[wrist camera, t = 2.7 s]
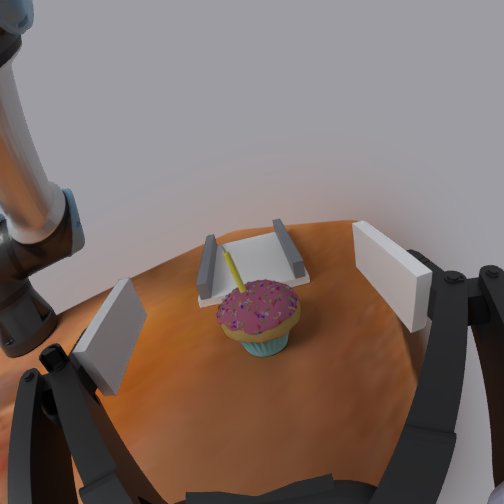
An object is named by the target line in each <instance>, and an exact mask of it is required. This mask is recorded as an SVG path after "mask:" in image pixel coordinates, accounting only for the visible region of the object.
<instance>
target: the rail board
mask: <svg viewBox="0 0 504 504" xmlns="http://www.w3.org/2000/svg"><path fill="white" fill-rule="evenodd" d="M273 224H274V229H275V232H272V233H268V234H263V235H259V236H255V237H251V238H246V239H242V240H238V241H234V242H230V243H225V244H221V245H222V246H223V247H224V249H225V250H226V252H227V251H229V252H230V255H231V257H232V259H233V261H234V263H235V266H236V268H237V270H238V272H239V274H240V277H241V279H242V281H243V283H244V284H246V283H247V282H253V281H256V280H264V279H267V280H271V281H274V280H275V281H276V282H279V283H283V284H287V285H288V286H289V287H295V286H299V285H303V284H307V283H310V278H309V274H308V272H307V270H306V268H305V267H304V262H303V259H302V257H301V255H300V254H299V252H298V250H297V248H296V246H295V245H294V243H293V241H292V239H291V237H290V236H289V234H288V232H287V230H286V228H285V227H284V225H283V223H282V221H281V220H280V219H276V220H273ZM221 245H217V243H216V239H215V236H214V234H213V235H209V236H207V237H206V241H205V246H204V250H203V255H202V259H201V263H200V268H199V273H198V277H197V282H196V287H197V290H198V293H199V297H198V303H199V305H200V308H202V307H207V306H212V305H216V304H221V303H222V299H225V298H226V297H225V296H226V295H228V294H229V293H231V292H232V290H233V289H235V288H237V287H238V286H237V284H236V282H235V280H234V277H233V275H232V273H231V271H230V269H229V267H228V264H227V262H226V260H225V258H224V256H223V253H224V251H223V249H222V247H221ZM223 301H224V300H223Z"/></svg>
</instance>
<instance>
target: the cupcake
mask: <svg viewBox="0 0 504 504" xmlns="http://www.w3.org/2000/svg"><path fill="white" fill-rule="evenodd" d="M221 247H222V249H223V251H224V253H223V256H224V258H225V260H226V262H227V264H228V267H229V269H230V271H231V273H232V275H233V277H234V280H235V282H236V284H237V286H238V287H237V288H235V289H233V290H232V292H231V293H229V294H228V295H226V296H225V297H226V298H225V299H222V303H221V304H220V305H219V307H218V314H217V313H216V315H217V321H218V323H219V324H221V326H222V329H223V330H224V332H225V334H226V335H227V336H228V337H230V338H232V339H234V340H236V341H238V342H240V343H241V344H242V345H243V346H244V347H245V349H246V350H247V351H248V352H249V353H250V354H252V355H255V356H259V357H266V356H271V355H274V354H276V353H278V352H280V351H281V350H282V349H283V348H284V347H285V346H286V344H287V341H288V336H289V331H290V330H291V329H292V328H293V327H294V326H295V325H296V324H297V323H298V322H299V319H300V316H301V306H300V302H299V300H298V297H297V294H296V293H295V291H294V290H293V289H292V288H291V287H289V286H288V285H287V284H283V283H279V282H276V281H275V280H274V281H271V280H267V279H264V280H256V281H253V282H247V283H246V284H244V283H243V281H242V279H241V277H240V274H239V272H238V270H237V268H236V266H235V263H234V261H233V259H232V257H231V255H230V252H229V251H227V252H226V250H225V249H224V247H223V246H222V245H221ZM223 300H224V301H223Z"/></svg>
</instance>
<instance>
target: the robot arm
mask: <svg viewBox="0 0 504 504" xmlns="http://www.w3.org/2000/svg"><path fill="white" fill-rule="evenodd" d="M33 17H34V13H33V4H32V0H0V207H1V209H2V210H3V211H4V212H5V214H6V215H7V219H5V217H4V216H3V215H2V214H0V347H1V348H2V350H3V351H4V353H5V354H6V355H7V356H8V357H18V356H21V355H23V354H25V353H27V352H29V351H31V350H32V349H34V348H35V347H37V346H38V345H39V344H40V343H42V342H43V341H44V340H45V339H46V338H47V337H48V336H49V334H50V333H51V332H52V331H53V329H54V328H55V326H56V323H57V316H56V314H55V312H54V310H53V309H52V307H51V306H50V305H49V304H48V303H47V302H46V301H45V300H44V299H43V298H42V297H41V296H40V295H39V294H38V293H37V292H36V291H35V290H34V288H33V287H32V285H31V283H30V281H29V279H28V277H29V276H31V275H32V274H34V273H36V272H38V271H40V270H42V269H44V268H46V267H48V266H50V265H52V264H54V263H56V262H58V261H60V260H61V259H64V258H66V257H70V256H72V255H73V254H74V253H75V252H77V251H79V250H81V249H82V248H83V247H84V244H85V238H84V233H83V229H82V225H81V223H80V218H79V214H78V210H77V207H76V203H75V200H74V196H73V194H72V191H71V190H70V189H62V190H61V189H60V187H59V186H58V185H57V184H55V183H53V182H50V181H48V180H47V177H46V175H45V172H44V170H43V167H42V165H41V163H40V160H39V157H38V155H37V152H36V150H35V147H34V144H33V142H32V138H31V135H30V133H29V130H28V127H27V124H26V120H25V117H24V114H23V111H22V107H21V103H20V100H19V96H18V92H17V88H16V85H15V80H14V75H13V71H12V66H11V64H12V62H13V60H14V59H15V57H16V56H17V54H18V52H19V51H20V49H21V47H22V41H21V34H24V33H25V32H26V30H28V29H29V28H30V27H31V26H32V24H33ZM352 227H353V236H354V247H355V259H356V267H357V268H358V269H359V270H360V272H361V273H362V274H363V275H364V276H365V277H366V278H367V280H368V281H369V282H370V283H371V284H372V285H373V287H374V288H375V289H376V290H377V291H378V293H379V294H380V295H381V296H382V297H383V299H384V300H385V301H386V302H387V303H388V305H389V306H390V307H391V308H392V309H393V311H394V312H395V313H396V314H397V316H398V317H399V318H400V319H401V321H402V322H403V323H404V324H405V326H406V327H407V328H408V329H409V330H410V332H411V333H412V332H415V331H417V330H420V329H422V328H425V327H426V321H427V316H428V317H429V318H430V319H431V320H432V326H431V331H430V336H429V341H428V346H427V350H426V354H425V359H424V363H423V367H422V371H421V375H420V379H419V382H418V385H417V389H416V392H415V396H414V399H413V402H412V405H411V408H410V411H409V414H408V417H407V420H406V423H405V425H404V428H403V431H402V433H401V436H400V438H399V441H398V443H397V446H396V448H395V451H394V453H393V455H392V458H391V460H390V462H389V464H388V466H387V469H386V471H385V473H384V475H383V477H382V479H381V481H380V483H379V485H378V487H375V486H373V485H370V484H367V483H363V482H359V481H352V480H333V477H332V474H328V475H324V476H320V477H316V478H312V479H307V480H303V481H298V482H294V483H292V484H289V485H287V486H284V487H282V488H279V489H277V490H274V491H271V492H269V493H266V494H263V495H260V496H247V495H239V494H231V493H225V492H186V500H183V501H180V502H177V503H175V504H436V502H437V499H438V496H439V494H440V491H441V489H442V485H443V483H444V480H445V477H446V474H447V471H448V468H449V465H450V462H451V458H452V455H453V451H454V447H455V443H456V433H454V429H455V424H456V420H457V415H458V409H459V404H460V399H461V392H462V386H463V378H464V370H465V360H466V348H467V347H466V346H467V330H468V328H467V327H468V326H470V325H471V329H472V332H473V336H474V339H475V343H476V347H477V351H478V355H479V360H480V364H481V369H482V374H483V378H484V384H485V389H486V396H487V402H488V410H489V418H490V428H491V442H492V465H493V478H494V484H495V489H494V490H493V492H492V493H491V495H490V497H489V500H488V503H487V504H504V271H503V270H502V269H501V268H499V267H497V266H494V265H488V266H484V267H482V268H481V269H480V273H479V277H478V278H471V279H466V277H465V276H464V275H463V274H462V273H460V272H457V271H445V272H444V271H443V270H442V269H441V268H439V267H438V266H437V265H435V264H434V263H432V262H430V260H429V259H427V258H425V257H424V256H423V255H422V254H421V253H419V252H417V251H414V250H411V249H410V250H406V251H405V250H404V249H403V248H401V247H400V246H399V245H398V244H396V243H395V242H393V241H392V240H391V239H389V238H388V237H386V236H385V235H384V234H382V233H381V232H380V231H378V230H377V229H376V228H374V227H373V226H371V225H370V224H368V223H367V222H366V221H360V222H356V223H352ZM146 317H147V314H146V312H145V310H144V308H143V306H142V303H141V301H140V299H139V297H138V295H137V293H136V290H135V288H134V286H133V284H132V281H131V279H130V278H125V279H121V280H119V281H118V282H117V284H116V285H115V287H114V288H113V290H112V291H111V293H110V294H109V295H108V297H107V298H106V300H105V301H104V303H103V304H102V306H101V307H100V309H99V310H98V312H97V313H96V315H95V317H94V318H93V320H92V321H91V323H90V324H89V326H88V327H87V328H86V329H85V330H84V331H83V332H82V334H81V336H80V337H79V338H80V339H78V340H77V342H76V344H75V345H74V347H73V349H72V350H71V352H70V354H69V355H68V356H67V355H66V353H65V352H64V350H63V349H62V347H61V346H60V344H57V343H56V344H52V345H50V346H48V347H47V348H45V349H44V350H43V351H42V352H41V354H40V356H39V360H40V361H41V363H42V364H43V365H44V367H45V368H46V370H47V371H48V372H49V373H48V374H44V375H41V374H40V372H39V371H38V370H37V369H36V368H32V369H30V370H27V371H26V372H25V373H24V374H23V376H22V377H21V379H20V382H19V387H18V392H17V397H16V402H15V407H14V413H13V420H12V427H11V435H10V445H9V457H8V504H78V499H77V493H76V488H75V482H74V475H73V467H72V459H71V455H72V457H73V460H74V462H75V465H76V467H77V470H78V472H79V475H80V477H81V479H82V482H83V484H84V487H82V488H80V489H79V495H80V498H81V500H82V502H83V504H168V503H167V502H166V501H164V500H163V498H162V497H161V496H160V495H159V494H158V492H157V491H156V490H155V488H154V487H153V486H152V484H151V483H150V482H149V480H148V479H147V478H146V476H145V475H144V473H143V472H142V471H141V469H140V468H139V466H138V465H137V463H136V462H135V460H134V459H133V457H132V456H131V454H130V453H129V451H128V449H127V448H126V446H125V445H124V443H123V441H122V440H121V438H120V436H119V434H118V433H117V431H116V429H115V428H114V426H113V424H112V422H111V420H110V419H109V417H108V415H107V413H106V411H105V409H104V407H103V405H102V403H101V401H100V399H99V398H98V396H97V395H96V394H95V392H96V389H97V388H98V389H99V390H100V391H101V393H102V394H103V395H104V396H114V395H117V393H118V390H119V387H120V385H121V382H122V379H123V376H124V373H125V371H126V368H127V365H128V363H129V360H130V357H131V355H132V352H133V350H134V347H135V344H136V342H137V339H138V337H139V334H140V332H141V329H142V327H143V324H144V322H145V320H146Z"/></svg>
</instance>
